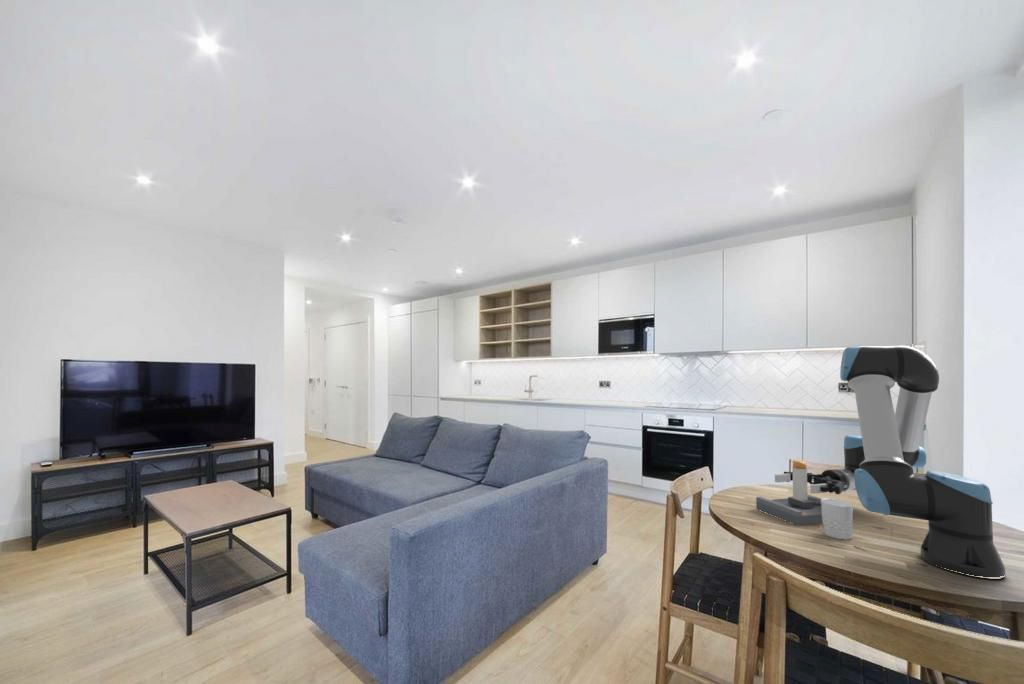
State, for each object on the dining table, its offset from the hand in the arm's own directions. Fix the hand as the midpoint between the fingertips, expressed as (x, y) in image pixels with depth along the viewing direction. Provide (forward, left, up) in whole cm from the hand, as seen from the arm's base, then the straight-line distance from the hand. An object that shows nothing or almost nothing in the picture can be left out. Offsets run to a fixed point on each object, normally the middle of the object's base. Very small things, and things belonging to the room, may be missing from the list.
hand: (792, 483), depth 146 cm
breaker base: (0, -3, -11) cm, 11 cm away
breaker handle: (0, -3, -8) cm, 8 cm away
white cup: (-17, +3, -11) cm, 21 cm away
